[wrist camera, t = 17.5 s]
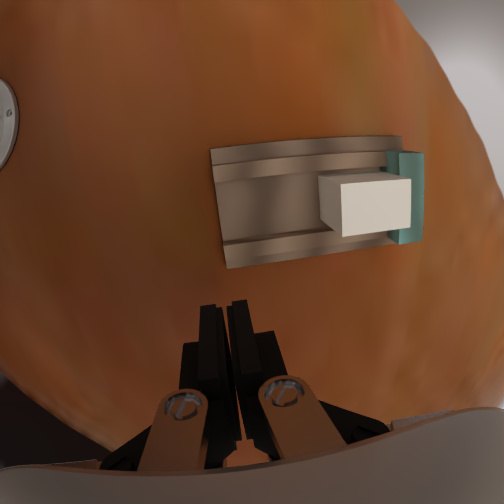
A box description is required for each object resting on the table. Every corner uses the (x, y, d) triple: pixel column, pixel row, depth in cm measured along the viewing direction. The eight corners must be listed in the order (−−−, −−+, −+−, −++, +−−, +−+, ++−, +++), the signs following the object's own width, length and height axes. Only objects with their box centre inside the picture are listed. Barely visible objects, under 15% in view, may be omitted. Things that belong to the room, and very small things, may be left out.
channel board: (226, 263, 34) (229, 286, 29) (210, 149, 30) (209, 150, 25) (395, 238, 36) (421, 254, 31) (394, 135, 31) (422, 137, 26)
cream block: (320, 219, 32) (342, 236, 27) (317, 175, 31) (340, 184, 25) (380, 212, 33) (410, 227, 27) (379, 170, 31) (411, 179, 26)
